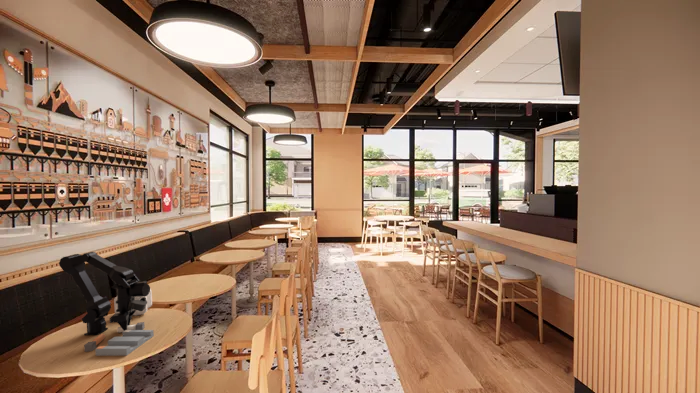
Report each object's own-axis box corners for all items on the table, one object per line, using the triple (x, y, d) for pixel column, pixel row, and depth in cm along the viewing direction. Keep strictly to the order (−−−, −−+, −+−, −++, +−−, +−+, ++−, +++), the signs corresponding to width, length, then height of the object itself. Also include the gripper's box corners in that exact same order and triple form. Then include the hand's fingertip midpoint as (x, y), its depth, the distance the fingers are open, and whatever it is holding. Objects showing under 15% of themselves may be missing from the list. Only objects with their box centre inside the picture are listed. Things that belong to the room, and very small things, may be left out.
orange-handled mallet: (98, 339, 136) (98, 333, 136) (105, 339, 137) (105, 332, 137) (84, 351, 126) (84, 345, 126) (92, 350, 127) (92, 344, 127)
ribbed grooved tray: (95, 355, 123) (95, 348, 123) (125, 336, 139) (125, 329, 139) (126, 355, 123) (126, 348, 123) (153, 335, 139) (153, 329, 139)
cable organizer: (154, 307, 173) (153, 287, 172) (145, 315, 162) (144, 293, 162) (124, 310, 170) (123, 289, 169) (113, 318, 159) (112, 296, 159)
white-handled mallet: (117, 333, 142) (116, 327, 142) (119, 331, 145) (119, 325, 144) (142, 330, 145) (142, 324, 145) (144, 327, 148) (144, 321, 148)
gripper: (137, 301, 137) (139, 335, 138) (150, 288, 155) (152, 318, 156) (108, 304, 134) (110, 339, 134) (125, 291, 152) (126, 321, 152)
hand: (126, 329), depth 144 cm, fingers closed on white-handled mallet, 3 cm apart
